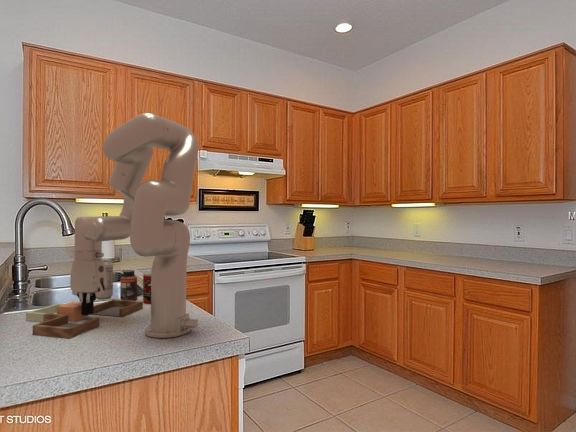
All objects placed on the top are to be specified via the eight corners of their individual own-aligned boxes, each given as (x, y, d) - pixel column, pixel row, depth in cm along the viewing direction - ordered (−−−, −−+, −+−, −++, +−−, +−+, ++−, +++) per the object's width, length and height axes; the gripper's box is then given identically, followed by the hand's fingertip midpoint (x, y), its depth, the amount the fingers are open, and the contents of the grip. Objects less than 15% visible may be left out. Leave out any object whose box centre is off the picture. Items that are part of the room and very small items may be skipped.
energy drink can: (110, 295, 147) (110, 258, 147) (114, 298, 143) (115, 260, 143) (93, 297, 143) (94, 259, 143) (98, 300, 139) (98, 261, 139)
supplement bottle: (132, 297, 145) (132, 269, 145) (140, 299, 141) (140, 270, 141) (117, 300, 140) (117, 270, 140) (125, 302, 137) (125, 272, 137)
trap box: (142, 308, 128) (142, 301, 128) (69, 338, 97) (69, 329, 97) (81, 303, 134) (81, 297, 134) (-7, 330, 103) (-7, 321, 103)
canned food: (139, 301, 138) (140, 272, 138) (160, 298, 144) (160, 270, 144) (147, 305, 133) (147, 275, 133) (168, 302, 138) (169, 273, 138)
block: (88, 316, 118) (88, 303, 118) (73, 322, 112) (73, 307, 112) (72, 315, 119) (72, 301, 119) (56, 320, 113) (57, 306, 113)
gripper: (117, 255, 116) (116, 313, 116) (77, 253, 120) (76, 309, 120) (99, 258, 109) (99, 319, 109) (58, 256, 112) (57, 315, 112)
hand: (87, 314), depth 114 cm, fingers closed
